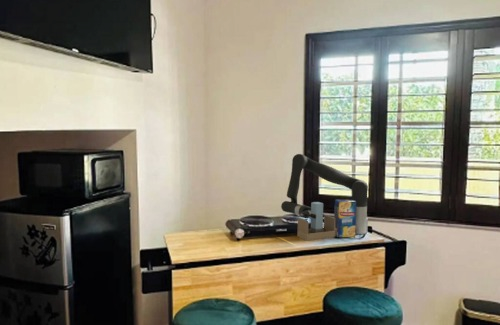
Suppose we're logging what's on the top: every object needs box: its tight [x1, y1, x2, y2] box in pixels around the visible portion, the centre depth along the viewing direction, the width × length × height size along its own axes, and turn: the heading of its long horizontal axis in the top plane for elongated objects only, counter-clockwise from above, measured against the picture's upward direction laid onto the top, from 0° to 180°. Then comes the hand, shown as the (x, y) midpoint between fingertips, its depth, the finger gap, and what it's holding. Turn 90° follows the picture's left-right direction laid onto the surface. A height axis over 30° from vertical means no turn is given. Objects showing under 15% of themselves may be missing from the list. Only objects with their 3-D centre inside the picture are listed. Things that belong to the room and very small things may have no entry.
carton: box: [296, 214, 336, 242], centre depth 225 cm, size 20×10×12 cm, turn 116°
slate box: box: [310, 201, 324, 233], centre depth 224 cm, size 5×5×18 cm
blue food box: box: [333, 199, 356, 238], centre depth 229 cm, size 7×11×22 cm, turn 100°
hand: (319, 216), depth 222 cm, fingers closed on slate box, 5 cm apart
